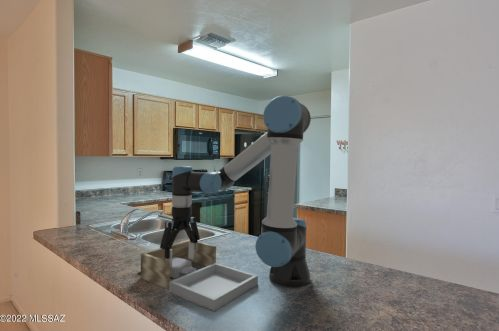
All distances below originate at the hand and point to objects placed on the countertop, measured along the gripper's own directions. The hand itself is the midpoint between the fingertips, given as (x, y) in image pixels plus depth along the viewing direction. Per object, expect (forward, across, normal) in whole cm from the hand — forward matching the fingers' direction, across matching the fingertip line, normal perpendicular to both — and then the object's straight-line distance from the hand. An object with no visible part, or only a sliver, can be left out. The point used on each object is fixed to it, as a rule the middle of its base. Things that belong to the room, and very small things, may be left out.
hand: (180, 262), depth 112 cm
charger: (+5, +1, +1) cm, 5 cm away
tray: (+4, +2, +20) cm, 20 cm away
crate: (+4, 0, -1) cm, 4 cm away
